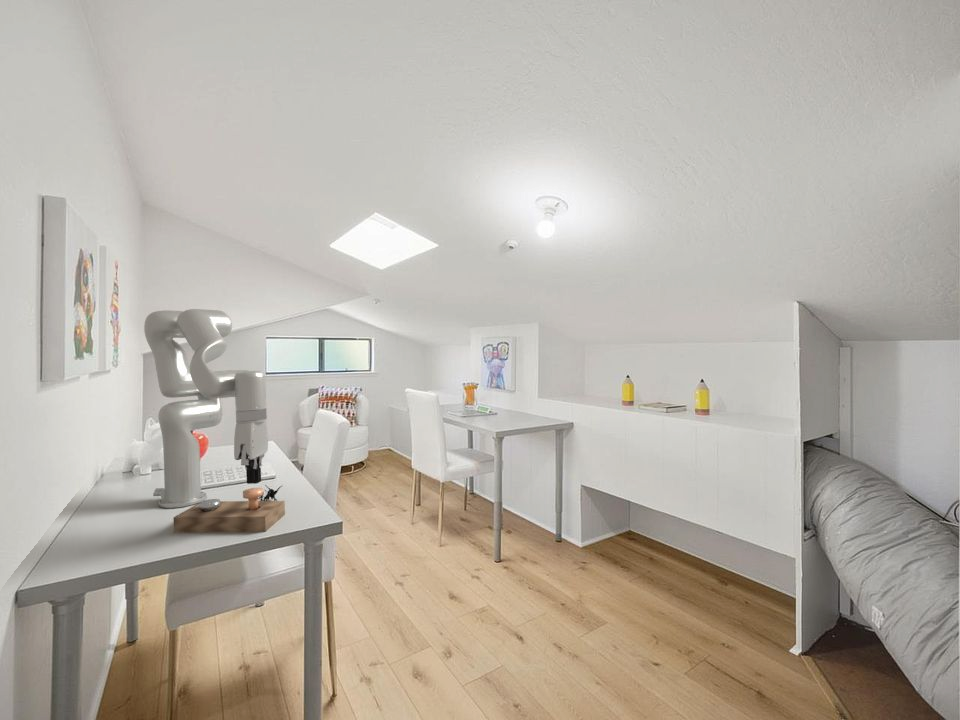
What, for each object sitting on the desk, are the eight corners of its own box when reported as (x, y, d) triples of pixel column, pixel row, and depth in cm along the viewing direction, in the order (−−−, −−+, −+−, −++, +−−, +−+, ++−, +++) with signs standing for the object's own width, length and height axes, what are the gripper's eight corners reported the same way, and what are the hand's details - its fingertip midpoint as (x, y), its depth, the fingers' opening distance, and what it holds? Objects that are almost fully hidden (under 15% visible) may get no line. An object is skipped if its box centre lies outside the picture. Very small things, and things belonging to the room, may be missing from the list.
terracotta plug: (239, 513, 123) (239, 493, 123) (249, 506, 128) (248, 487, 128) (258, 513, 123) (257, 493, 123) (266, 506, 128) (266, 487, 128)
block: (173, 532, 119) (173, 517, 119) (201, 515, 131) (201, 501, 131) (265, 531, 120) (265, 516, 119) (284, 514, 132) (284, 500, 131)
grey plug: (195, 525, 123) (194, 505, 123) (206, 517, 128) (205, 499, 128) (214, 524, 123) (213, 505, 123) (224, 517, 128) (223, 498, 128)
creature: (271, 511, 137) (287, 497, 145) (269, 495, 136) (284, 482, 144) (248, 509, 139) (265, 495, 146) (245, 494, 138) (262, 480, 145)
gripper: (251, 412, 132) (253, 475, 132) (222, 420, 117) (225, 491, 117) (277, 412, 132) (279, 474, 132) (251, 419, 117) (254, 490, 117)
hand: (254, 482), depth 125 cm, fingers closed
